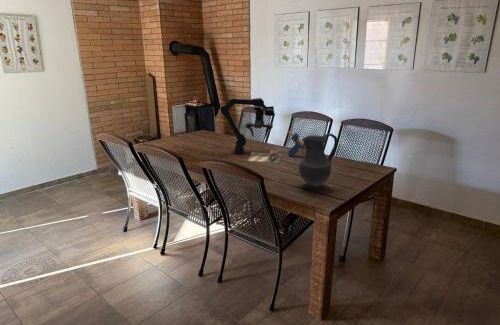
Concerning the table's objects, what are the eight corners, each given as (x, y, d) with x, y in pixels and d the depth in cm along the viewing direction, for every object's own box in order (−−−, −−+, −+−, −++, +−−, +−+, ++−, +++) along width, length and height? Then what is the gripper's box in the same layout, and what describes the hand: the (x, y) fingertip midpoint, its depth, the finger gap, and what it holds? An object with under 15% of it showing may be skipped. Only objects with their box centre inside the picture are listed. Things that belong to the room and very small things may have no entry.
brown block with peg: (269, 161, 233) (269, 154, 232) (271, 156, 242) (271, 150, 241) (275, 161, 232) (275, 154, 231) (277, 157, 242) (277, 150, 240)
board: (247, 162, 235) (247, 157, 234) (251, 157, 248) (251, 152, 247) (277, 164, 231) (278, 159, 229) (280, 158, 244) (280, 153, 243)
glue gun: (310, 172, 246) (324, 157, 240) (276, 146, 245) (289, 130, 239) (311, 169, 252) (324, 154, 246) (277, 143, 251) (290, 128, 245)
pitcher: (294, 183, 198) (296, 131, 189) (327, 180, 202) (330, 130, 193) (305, 194, 181) (308, 139, 172) (341, 191, 186) (345, 137, 177)
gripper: (244, 117, 239) (244, 139, 244) (270, 118, 235) (270, 140, 240) (247, 115, 249) (247, 136, 254) (273, 115, 246) (272, 137, 250)
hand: (259, 137), depth 249 cm, fingers open, 9 cm apart
